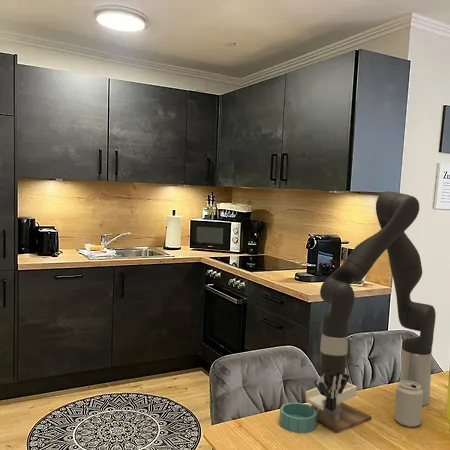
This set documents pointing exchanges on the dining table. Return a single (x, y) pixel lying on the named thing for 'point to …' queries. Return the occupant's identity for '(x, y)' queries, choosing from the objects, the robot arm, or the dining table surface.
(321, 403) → the cream shallow tray
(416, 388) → the can
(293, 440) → the dining table surface
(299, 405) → the teal round bowl
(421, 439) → the dining table surface
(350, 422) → the stand
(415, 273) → the robot arm
